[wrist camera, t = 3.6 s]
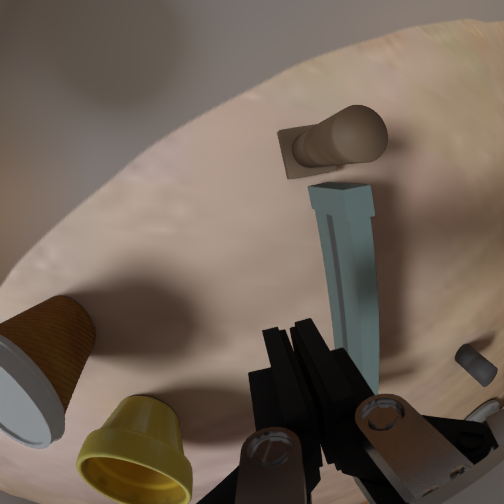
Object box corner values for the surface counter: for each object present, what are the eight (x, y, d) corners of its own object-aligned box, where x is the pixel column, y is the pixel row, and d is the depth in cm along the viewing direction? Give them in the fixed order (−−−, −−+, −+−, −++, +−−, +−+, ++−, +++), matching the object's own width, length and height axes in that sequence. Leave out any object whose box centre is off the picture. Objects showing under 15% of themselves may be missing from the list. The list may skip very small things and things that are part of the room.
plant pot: (218, 426, 27) (217, 502, 17) (153, 453, 28) (141, 516, 18) (147, 364, 24) (118, 442, 15) (87, 401, 25) (56, 464, 16)
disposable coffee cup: (31, 264, 21) (-56, 316, 10) (117, 300, 23) (49, 387, 11) (31, 345, 23) (-29, 412, 12) (107, 380, 25) (65, 470, 13)
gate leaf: (352, 380, 25) (379, 427, 18) (336, 385, 24) (360, 434, 18) (328, 182, 20) (370, 184, 14) (307, 186, 20) (342, 190, 14)
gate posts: (467, 356, 28) (513, 398, 18) (326, 417, 28) (353, 487, 18) (466, 117, 21) (540, 108, 11) (276, 132, 20) (314, 97, 11)
